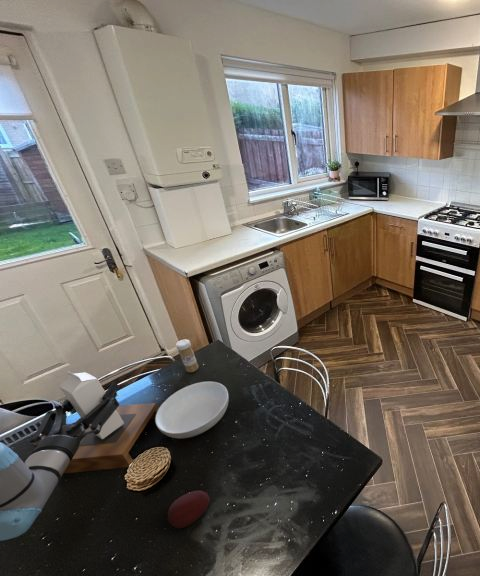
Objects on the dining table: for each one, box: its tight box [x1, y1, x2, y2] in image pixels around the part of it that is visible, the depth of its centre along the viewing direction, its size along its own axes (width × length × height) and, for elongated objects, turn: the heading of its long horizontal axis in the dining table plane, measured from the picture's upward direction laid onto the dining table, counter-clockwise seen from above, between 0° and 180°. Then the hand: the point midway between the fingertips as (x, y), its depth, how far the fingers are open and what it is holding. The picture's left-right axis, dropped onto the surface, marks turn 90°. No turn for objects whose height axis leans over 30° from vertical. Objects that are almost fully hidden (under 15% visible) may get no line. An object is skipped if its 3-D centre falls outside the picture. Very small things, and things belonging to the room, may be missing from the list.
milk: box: [59, 370, 124, 439], centre depth 88 cm, size 6×6×22 cm
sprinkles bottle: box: [175, 338, 199, 373], centre depth 121 cm, size 5×5×14 cm
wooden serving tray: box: [63, 402, 160, 475], centre depth 95 cm, size 18×18×6 cm
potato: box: [167, 490, 211, 529], centre depth 78 cm, size 8×9×6 cm
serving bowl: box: [154, 381, 230, 439], centre depth 102 cm, size 21×21×7 cm
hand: (97, 387), depth 91 cm, fingers closed on milk, 8 cm apart
